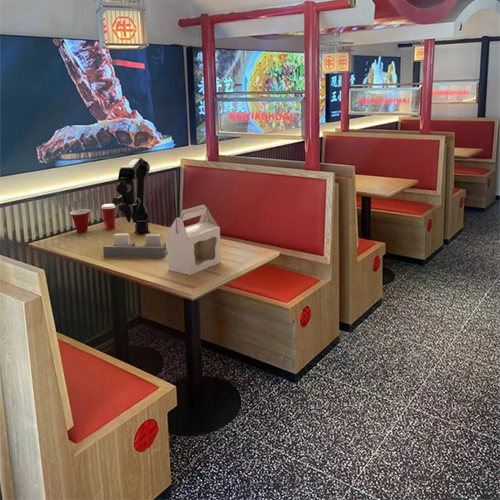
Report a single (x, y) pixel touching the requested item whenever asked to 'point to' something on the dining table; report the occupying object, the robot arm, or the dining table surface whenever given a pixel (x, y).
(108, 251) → the grey compartment tray
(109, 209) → the paper cup
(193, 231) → the gable box
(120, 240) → the cream block
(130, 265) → the dining table surface
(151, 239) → the white box
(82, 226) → the plastic cup
